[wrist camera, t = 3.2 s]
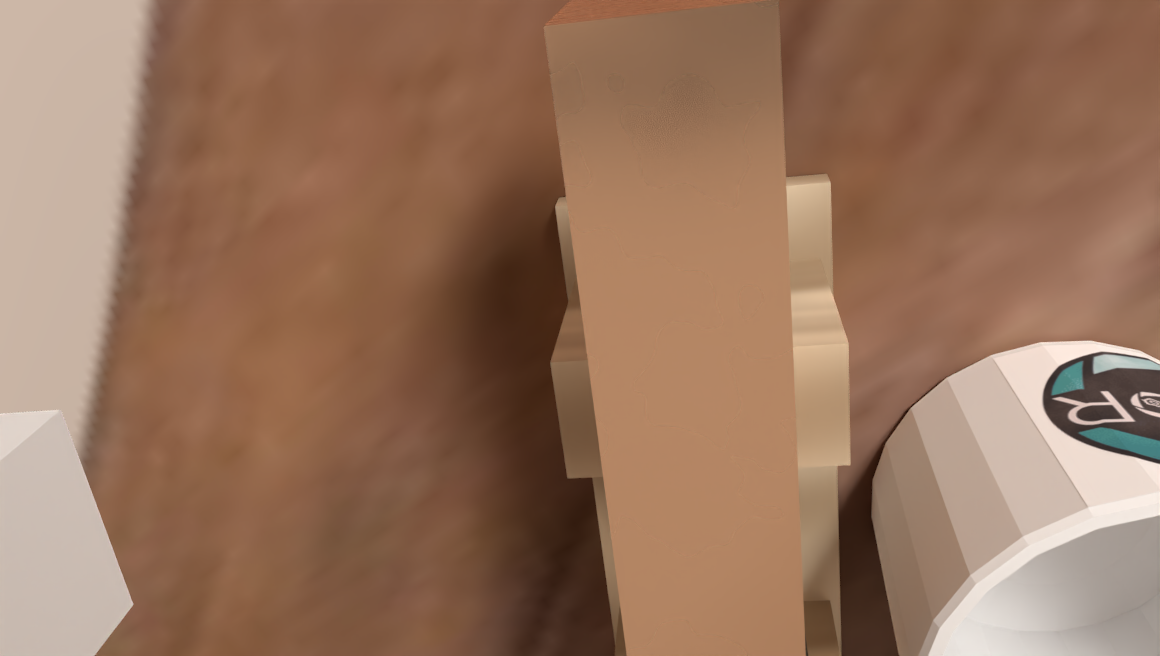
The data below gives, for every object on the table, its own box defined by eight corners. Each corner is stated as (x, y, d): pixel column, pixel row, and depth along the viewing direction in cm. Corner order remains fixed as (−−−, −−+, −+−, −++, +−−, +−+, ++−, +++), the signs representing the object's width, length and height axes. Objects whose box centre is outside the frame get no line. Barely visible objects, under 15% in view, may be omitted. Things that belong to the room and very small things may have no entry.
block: (566, 0, 19) (538, 27, 15) (767, -23, 18) (784, -2, 15) (673, 878, 28) (670, 1015, 25) (808, 880, 28) (824, 1020, 24)
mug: (833, 616, 31) (875, 841, 24) (890, 310, 27) (963, 470, 20) (1281, 662, 30) (1468, 912, 23) (1415, 351, 26) (1699, 536, 19)
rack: (559, 197, 27) (523, 279, 21) (826, 173, 26) (862, 252, 20) (625, 686, 33) (611, 843, 28) (839, 682, 32) (868, 845, 27)
